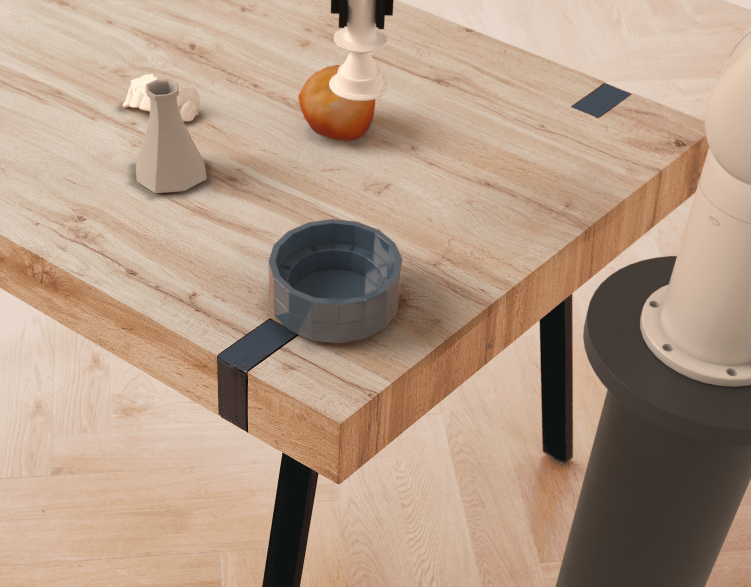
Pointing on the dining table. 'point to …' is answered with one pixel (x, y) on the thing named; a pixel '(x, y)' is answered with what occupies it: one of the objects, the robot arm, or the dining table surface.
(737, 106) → the robot arm
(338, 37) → the candle
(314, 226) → the bowl
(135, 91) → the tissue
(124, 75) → the dining table surface
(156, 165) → the flask
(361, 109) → the fruit
